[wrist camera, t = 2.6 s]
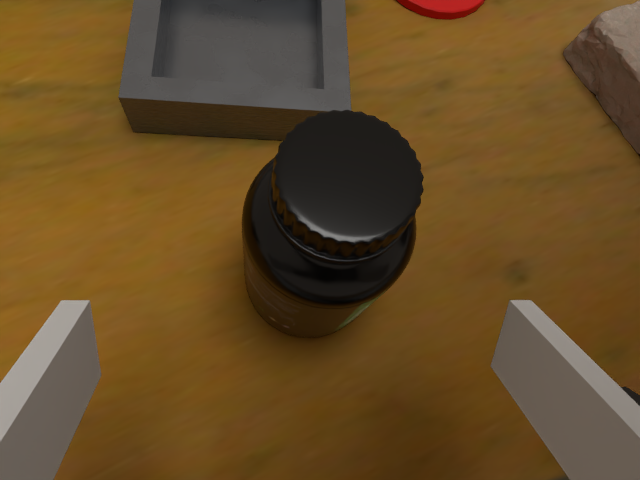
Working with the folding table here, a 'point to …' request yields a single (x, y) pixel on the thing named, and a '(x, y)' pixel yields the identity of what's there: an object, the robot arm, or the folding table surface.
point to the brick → (612, 65)
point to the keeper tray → (234, 66)
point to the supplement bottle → (330, 222)
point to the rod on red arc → (442, 7)
